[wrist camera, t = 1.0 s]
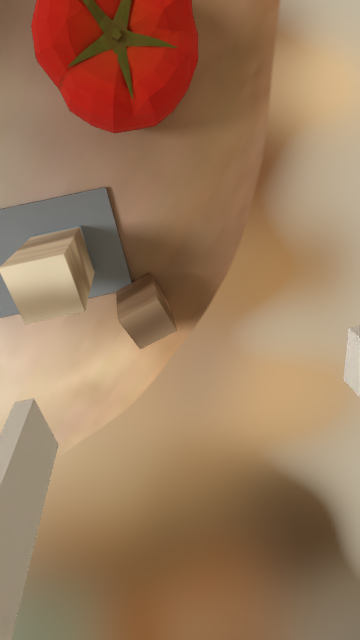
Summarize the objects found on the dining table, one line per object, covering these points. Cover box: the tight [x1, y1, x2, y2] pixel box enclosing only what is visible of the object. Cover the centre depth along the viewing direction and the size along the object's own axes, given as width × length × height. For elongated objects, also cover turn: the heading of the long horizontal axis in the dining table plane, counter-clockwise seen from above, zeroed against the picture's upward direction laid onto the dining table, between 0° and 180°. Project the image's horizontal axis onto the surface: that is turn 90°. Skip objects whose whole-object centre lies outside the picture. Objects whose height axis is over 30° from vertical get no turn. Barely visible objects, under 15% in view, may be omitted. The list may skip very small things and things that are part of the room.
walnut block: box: [116, 273, 177, 349], centre depth 36 cm, size 4×4×6 cm
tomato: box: [31, 0, 198, 133], centre depth 24 cm, size 11×12×9 cm
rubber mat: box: [0, 187, 132, 318], centre depth 34 cm, size 11×19×1 cm, turn 100°
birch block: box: [0, 225, 95, 325], centre depth 30 cm, size 5×5×10 cm
